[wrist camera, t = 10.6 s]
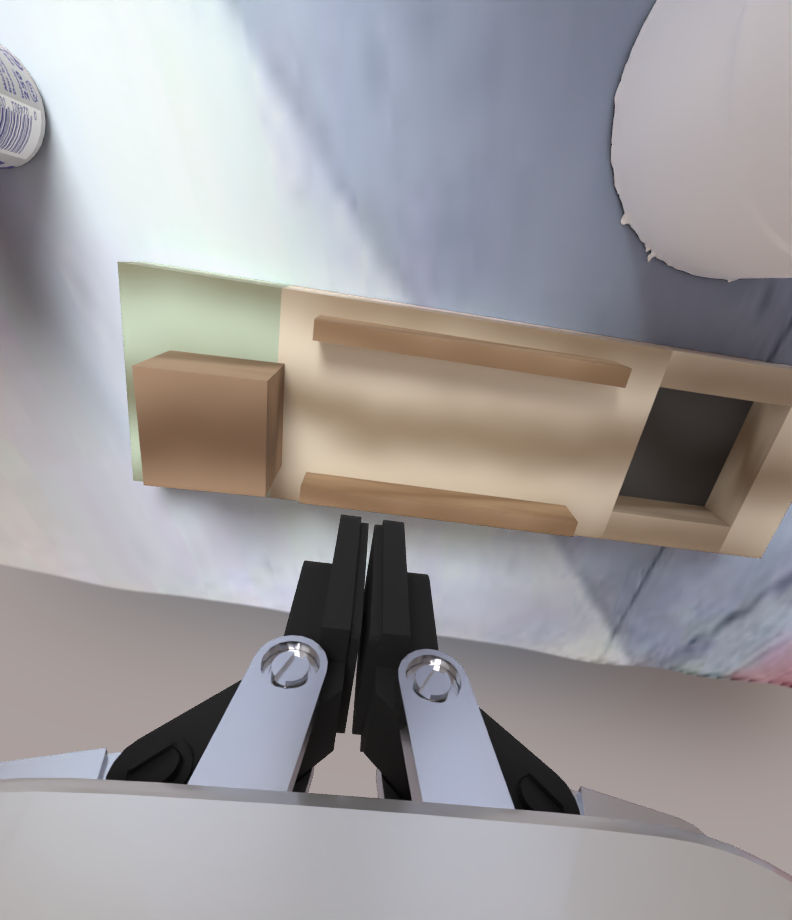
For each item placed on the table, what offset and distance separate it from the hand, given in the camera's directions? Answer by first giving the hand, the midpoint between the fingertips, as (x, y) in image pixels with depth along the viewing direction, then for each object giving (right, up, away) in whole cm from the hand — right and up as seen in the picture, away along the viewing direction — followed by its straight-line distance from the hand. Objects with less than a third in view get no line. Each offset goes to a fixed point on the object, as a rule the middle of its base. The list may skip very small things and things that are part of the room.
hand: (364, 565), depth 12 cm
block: (-8, +5, +14) cm, 17 cm away
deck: (+6, +6, +17) cm, 19 cm away
